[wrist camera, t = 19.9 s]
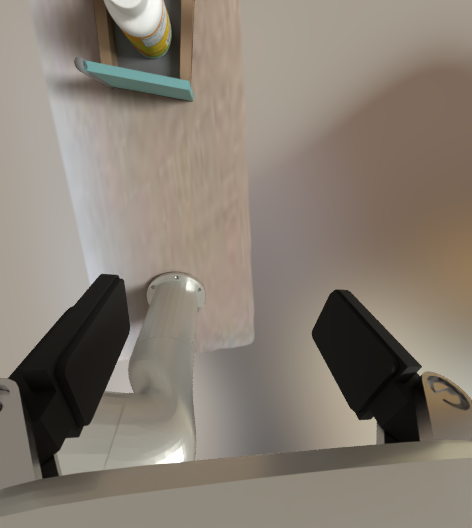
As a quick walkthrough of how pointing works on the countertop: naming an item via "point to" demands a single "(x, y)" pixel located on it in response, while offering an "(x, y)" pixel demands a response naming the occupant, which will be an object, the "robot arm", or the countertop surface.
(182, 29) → the bay
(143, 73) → the gate
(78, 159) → the countertop surface
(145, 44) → the supplement bottle
